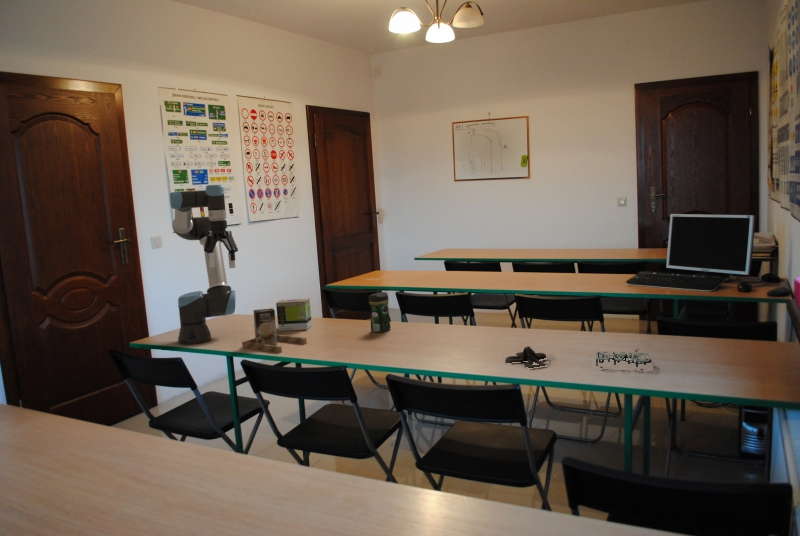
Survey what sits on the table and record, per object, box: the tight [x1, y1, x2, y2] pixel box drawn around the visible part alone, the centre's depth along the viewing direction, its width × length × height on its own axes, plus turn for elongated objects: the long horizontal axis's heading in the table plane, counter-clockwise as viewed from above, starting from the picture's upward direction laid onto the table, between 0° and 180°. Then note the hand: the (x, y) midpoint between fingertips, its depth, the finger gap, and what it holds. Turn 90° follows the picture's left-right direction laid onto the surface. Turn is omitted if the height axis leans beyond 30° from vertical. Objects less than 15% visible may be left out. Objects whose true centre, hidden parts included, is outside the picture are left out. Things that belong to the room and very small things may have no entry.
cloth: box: [505, 346, 547, 368], centre depth 219 cm, size 22×19×6 cm
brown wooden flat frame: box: [241, 333, 308, 354], centre depth 264 cm, size 24×17×2 cm
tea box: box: [275, 297, 313, 332], centre depth 295 cm, size 15×10×15 cm, turn 84°
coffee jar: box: [368, 291, 391, 334], centre depth 280 cm, size 10×8×19 cm
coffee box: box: [253, 308, 278, 346], centre depth 266 cm, size 9×6×16 cm
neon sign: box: [595, 351, 653, 367], centre depth 215 cm, size 21×4×29 cm
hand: (222, 267), depth 260 cm, fingers open, 13 cm apart
